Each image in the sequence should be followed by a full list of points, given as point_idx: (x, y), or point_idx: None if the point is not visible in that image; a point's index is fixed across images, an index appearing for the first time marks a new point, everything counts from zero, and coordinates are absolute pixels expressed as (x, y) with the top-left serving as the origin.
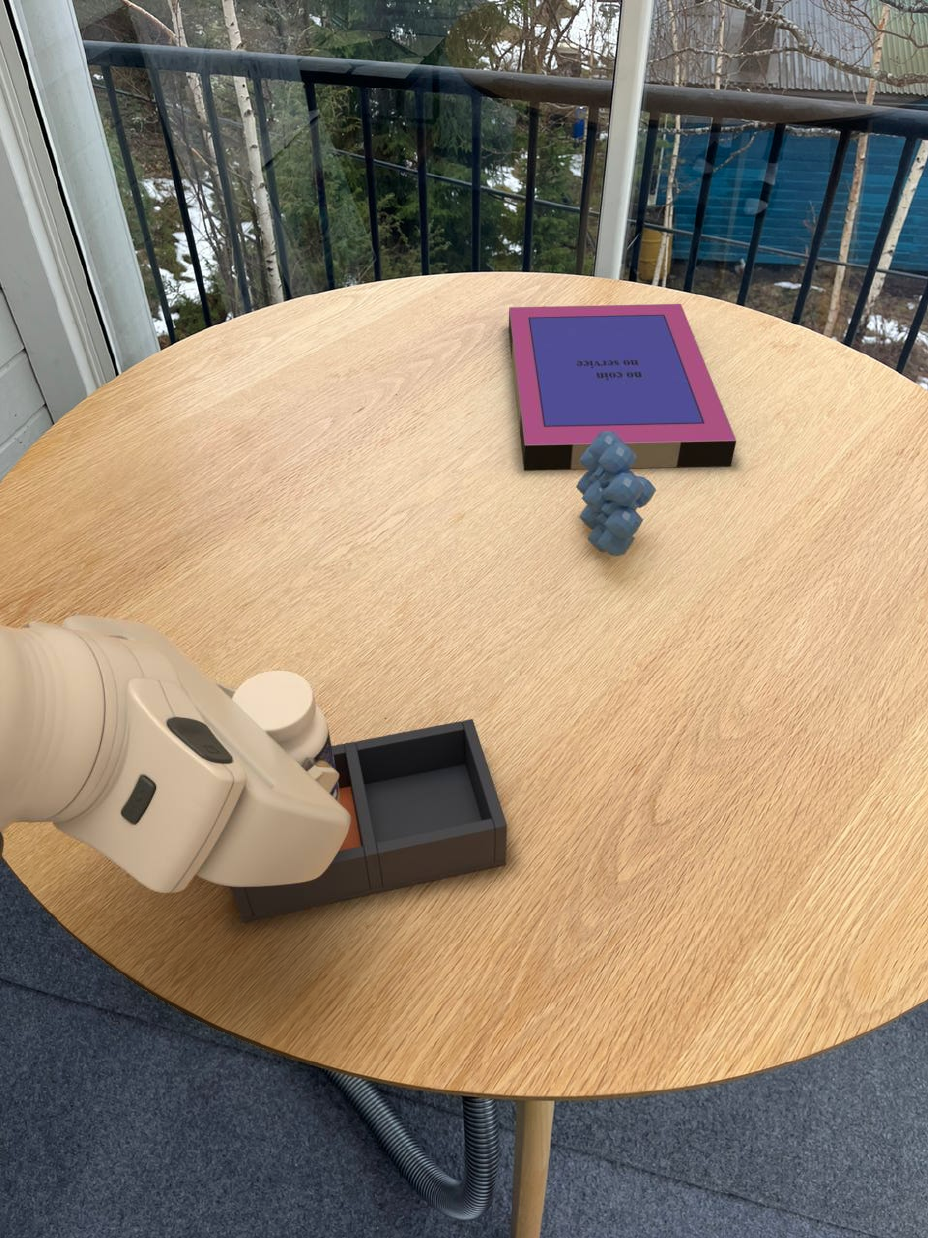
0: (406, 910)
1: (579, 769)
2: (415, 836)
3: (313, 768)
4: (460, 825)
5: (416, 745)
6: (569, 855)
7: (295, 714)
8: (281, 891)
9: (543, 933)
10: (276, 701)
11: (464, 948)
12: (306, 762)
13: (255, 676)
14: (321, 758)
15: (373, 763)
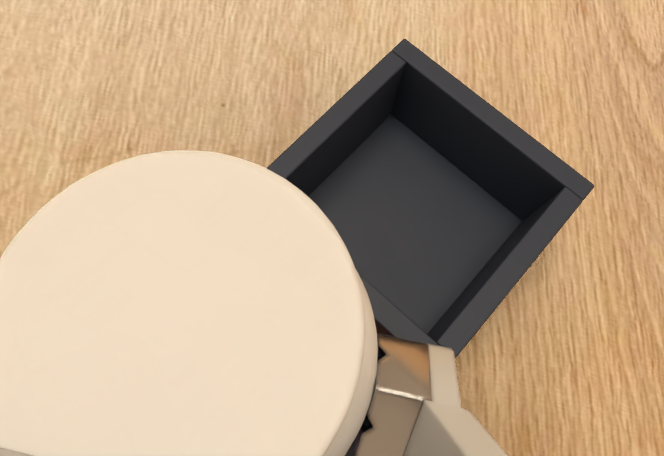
0: (473, 371)
1: (522, 43)
2: (486, 289)
3: (453, 430)
4: (534, 227)
5: (345, 128)
6: (599, 164)
7: (334, 338)
8: None
9: (651, 287)
10: (199, 324)
11: (583, 373)
12: (382, 400)
13: (8, 257)
14: (380, 338)
15: None
